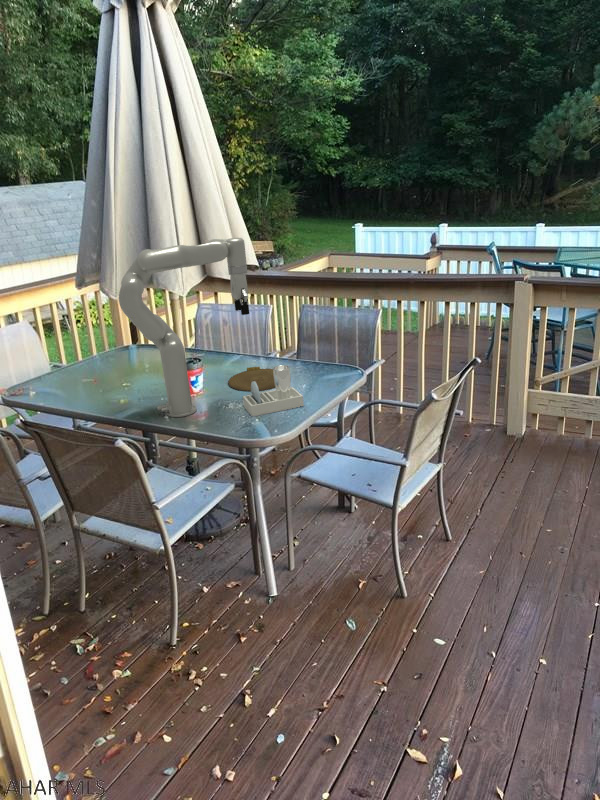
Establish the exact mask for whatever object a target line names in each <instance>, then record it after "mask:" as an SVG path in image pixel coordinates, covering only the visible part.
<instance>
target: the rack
mask: <svg viewBox="0 0 600 800" xmlns="http://www.w3.org/2000/svg"><path fill="white" fill-rule="evenodd" d="M242 400H243V402H242V403H243V408H244V409H246V411H247V412H248V414H249V415H250V416H251V417H258V416H262V415H268V414H271V413H277V412H282V411H283V412H284V411H288V410H292V408H293V409H297V408H296V407H298V408H301V407H300V406H303V407H304V406H305V405H304V403H305V402H304V395H303V394H301V393H300V392H299V391H298V390H297V389H296V388H294V386H290V398H287V399H281V400H277V392H276V389H275V390H274V389H273V390H265V391H259V388H258V386H257V383H256V382H255V381H253V382H252V383H251V393H250V394H247V395H243V396H242ZM287 409H288V410H287Z"/></svg>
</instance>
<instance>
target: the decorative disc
mask: <svg viewBox="0 0 600 800" xmlns="http://www.w3.org/2000/svg"><path fill="white" fill-rule="evenodd" d="M253 381H255V382H256V383H257V386H258V388H259V392H266V391H271V390H274V389H276V388H275V384H274V378H273V368H261V367H260V366H252V367H246V370H244V371H241V372H239V373H238V372H237V373H236V374H233V376H231V377H230V378H229V379H228V381H227V383H228V386H229V387H230V388H232V389H234V390H237V391H239V392H240V391H241V392H248V393H249V392H251V383H252V382H253Z"/></svg>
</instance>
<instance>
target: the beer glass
mask: <svg viewBox="0 0 600 800" xmlns="http://www.w3.org/2000/svg"><path fill="white" fill-rule="evenodd" d="M272 369H273V378H274V384H275V388H274V389H275V390H276V392H277V400H281V399H287V398H290V387H291V379H292V378H291V370H290V367H289V365H277V366H274V367H273V368H272Z"/></svg>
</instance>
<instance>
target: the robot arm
mask: <svg viewBox="0 0 600 800" xmlns="http://www.w3.org/2000/svg"><path fill="white" fill-rule="evenodd" d="M245 243H246V242H245V239H243V237H230V238H227V239H226V238H224V239H223V238H221V239H220V238H218V239H217V238H213V239H210V240H208V242H207V243H203V244H196V245H186V244H185V245H184V244H178V245H172V246H168V247H163V248H155V249H150V248H148V249H147V248H146V249H143V250H141V252H139V253H138V255H137V256H136V258H135V260H134V261H133V263H132V264H130V265H131V266H129V268H128V269H127V271H126V272H125V274H124V275H123V277H122V279H121V283H120V289H119V292H118V293H119V294H118V303H119V306H120V309H121V311H122V312H123V314H124V315H125V316H126V317H127V318H128V319H129V320H130V321H131V323H132V324H133V325H134V326H135V327H136V329H137V330H138V331H139V332H140V333H141V334H142V336H143V337H144V338H145V339H146V340H148V341H150V342H152V343H153V345H155V347H156V348H157V349H158V350H159V354H160V359H161V365H162V366H161V367H162V373H163V378H164V385H165V391H166V397H167V401H166V403H164V405H163V404H162V405H158V406H157V411H158V412H160V411H161V412H165V414H166V416H168V417H170V418H181V417H187V416H190V415H193V414H194V413H195V412H196V411H197V406H196V405H194V404H193V403H192V395H191V389H190V380H189V374H188V366H187V358H186V357H187V356H186V350H185V347H184V344H183V342H182V340H181V338H180V337H179V336H178V334H177V333H176V332H175V331H174V330H173V329H172V328H171V326H169V324H167V322H166V321H165V320H164V319H163V318H162V317H161V316H159V315H158V314H154V313H153V311H152V310H151V309H150V308H149V307H148V305H147V304H146V303H144V301H143V299H142V295H143V293H144V292H145V291H144V290H145V285H146V284H147V282H148V281H149V279H150V278H151V276H152V275H154V274H156V273H163V272H167V271H172V270H176V269H182V268H189V267H195V266H202V265H208V264H209V265H210V264H213V263H214V264H215V263H218V262H223V260H225V259H226V261H227V270H228V276H230V296H231V298H233V300H234V310H235V311H236V312H237V311H240V314H241V316H245V315H250V306H249V299H248V298H249V290H248V282H247V276H246V274H248V264H247V263H248V262H247V256H246V255H247V254H246V245H245Z"/></svg>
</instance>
